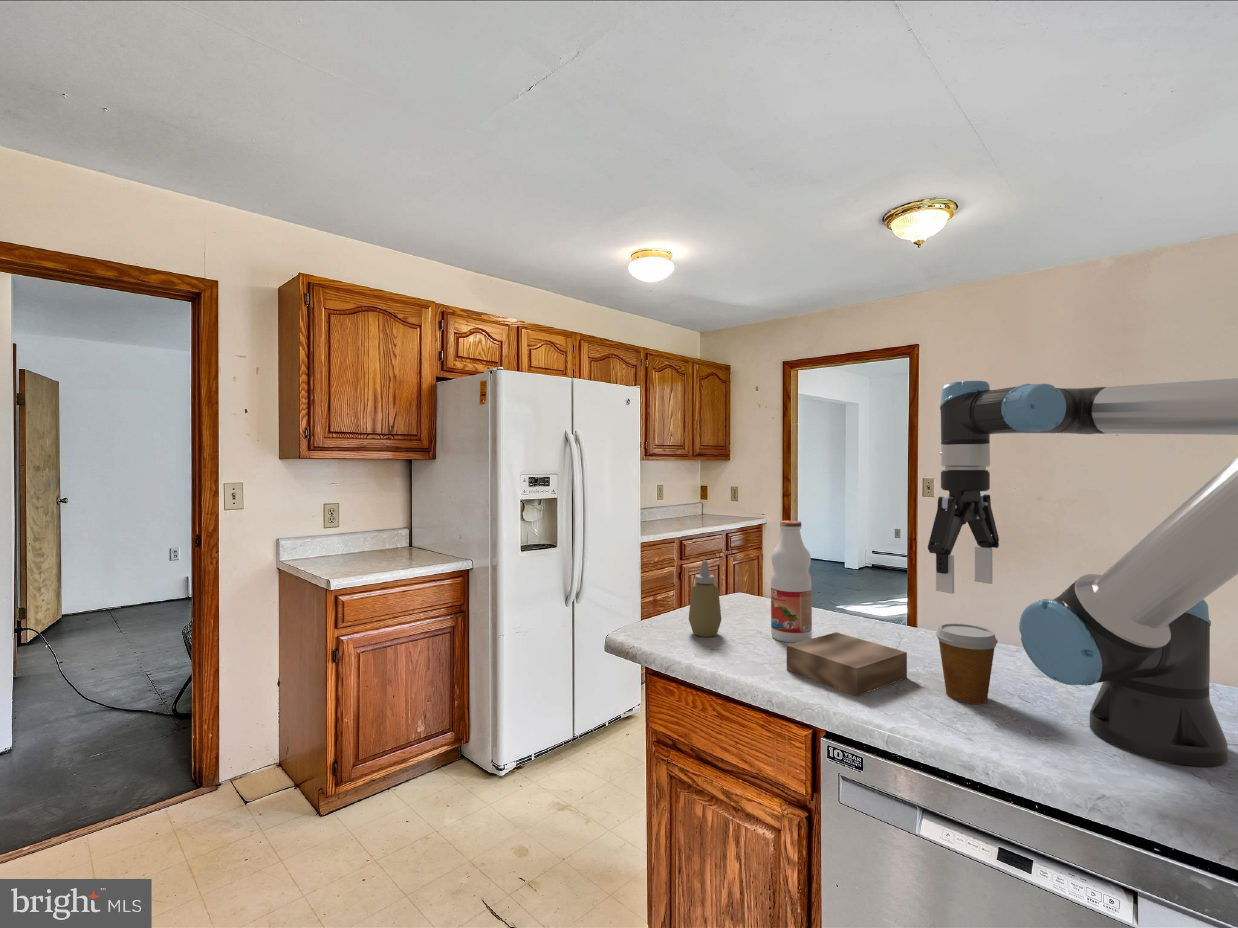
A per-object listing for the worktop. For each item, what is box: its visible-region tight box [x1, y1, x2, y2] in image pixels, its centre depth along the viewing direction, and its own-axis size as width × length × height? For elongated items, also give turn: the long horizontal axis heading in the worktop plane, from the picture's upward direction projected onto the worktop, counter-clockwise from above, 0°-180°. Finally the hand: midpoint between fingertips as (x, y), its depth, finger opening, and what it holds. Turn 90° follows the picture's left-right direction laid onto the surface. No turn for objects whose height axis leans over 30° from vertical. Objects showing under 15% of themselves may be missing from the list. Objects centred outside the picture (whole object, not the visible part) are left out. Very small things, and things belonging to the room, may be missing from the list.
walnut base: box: [786, 632, 908, 697], centre depth 115 cm, size 16×16×5 cm
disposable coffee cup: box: [935, 622, 999, 705], centre depth 103 cm, size 10×10×12 cm
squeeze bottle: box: [688, 560, 722, 638], centre depth 142 cm, size 8×8×18 cm
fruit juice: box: [770, 520, 813, 644], centre depth 139 cm, size 9×9×28 cm
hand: (964, 587), depth 104 cm, fingers open, 13 cm apart
